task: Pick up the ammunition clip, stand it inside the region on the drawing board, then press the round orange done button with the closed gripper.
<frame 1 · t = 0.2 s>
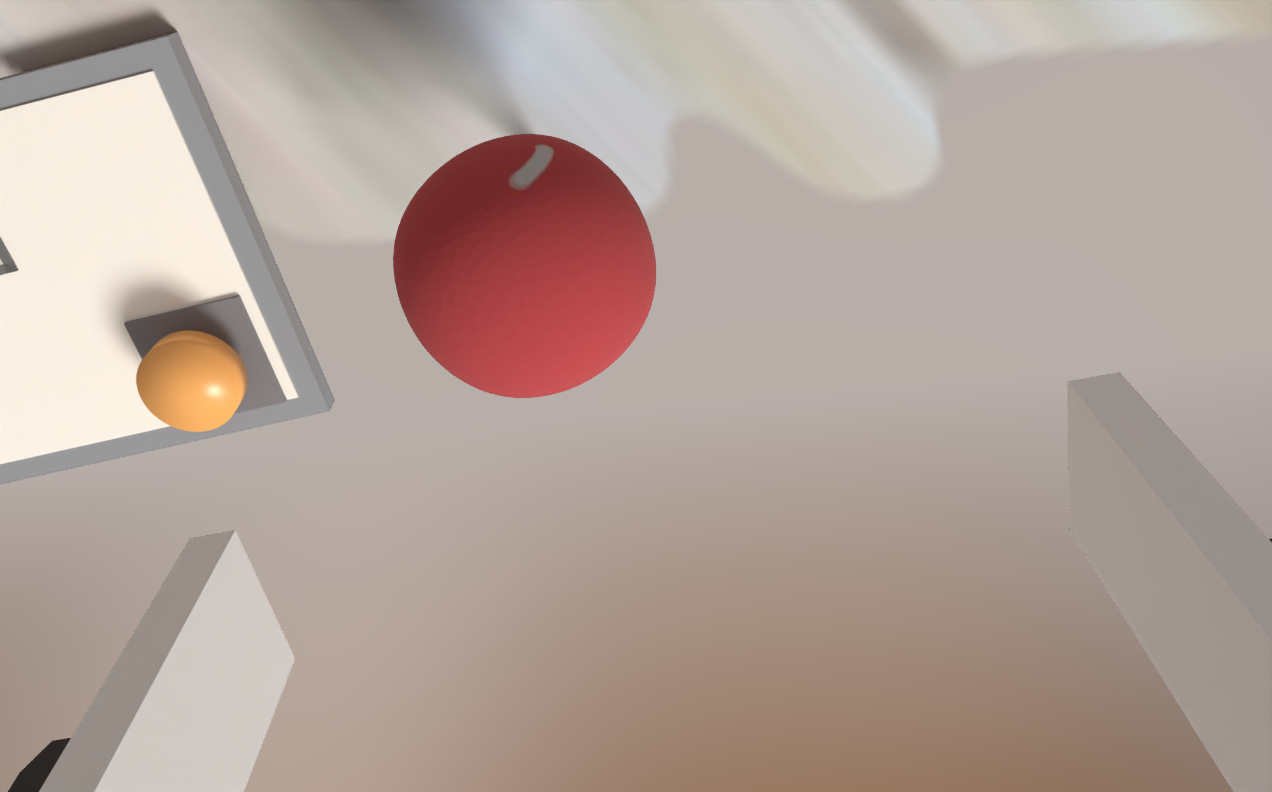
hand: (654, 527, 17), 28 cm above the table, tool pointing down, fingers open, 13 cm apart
done button: (192, 381, 43), point 3 cm above the table, slide at 0.0 cm
lollipop: (548, 161, 42), on the table
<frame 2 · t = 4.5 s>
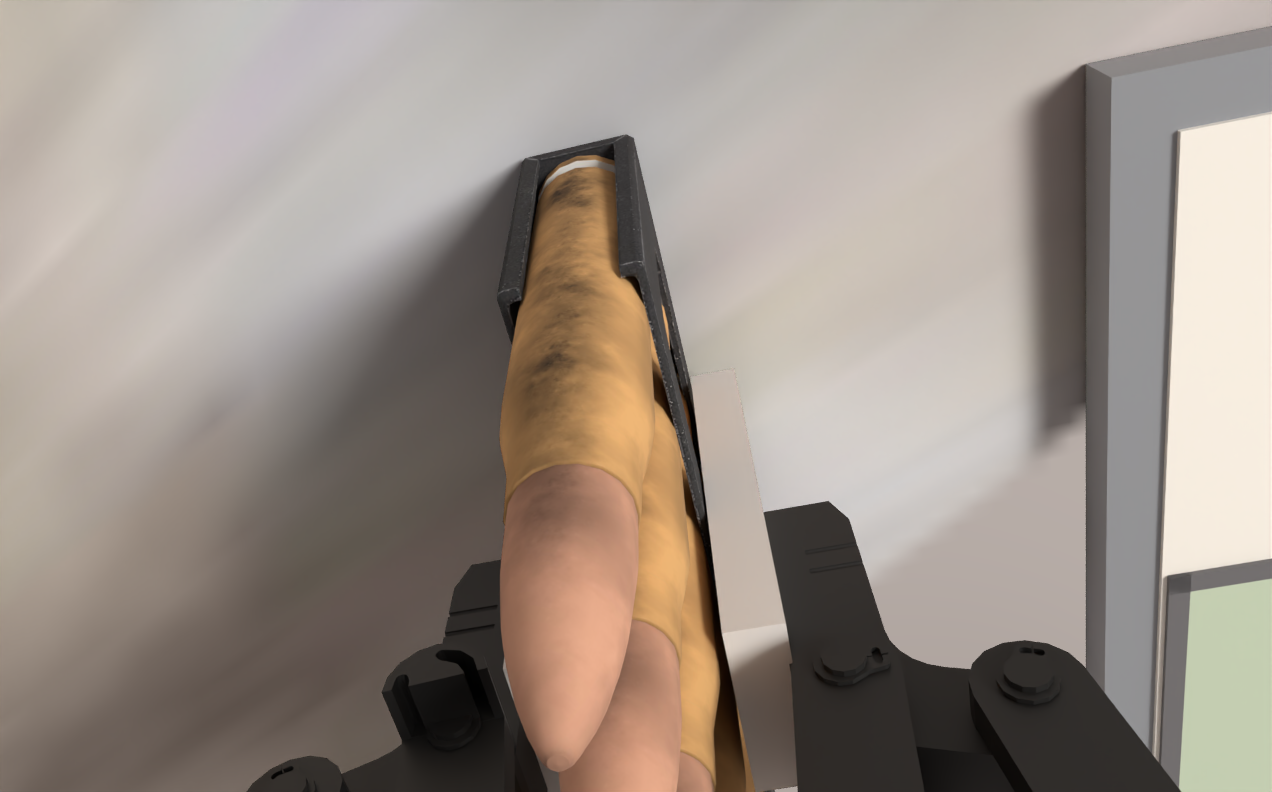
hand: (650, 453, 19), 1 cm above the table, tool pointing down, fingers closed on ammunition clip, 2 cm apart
ammunition clip: (648, 418, 20), on the table, touching gripper
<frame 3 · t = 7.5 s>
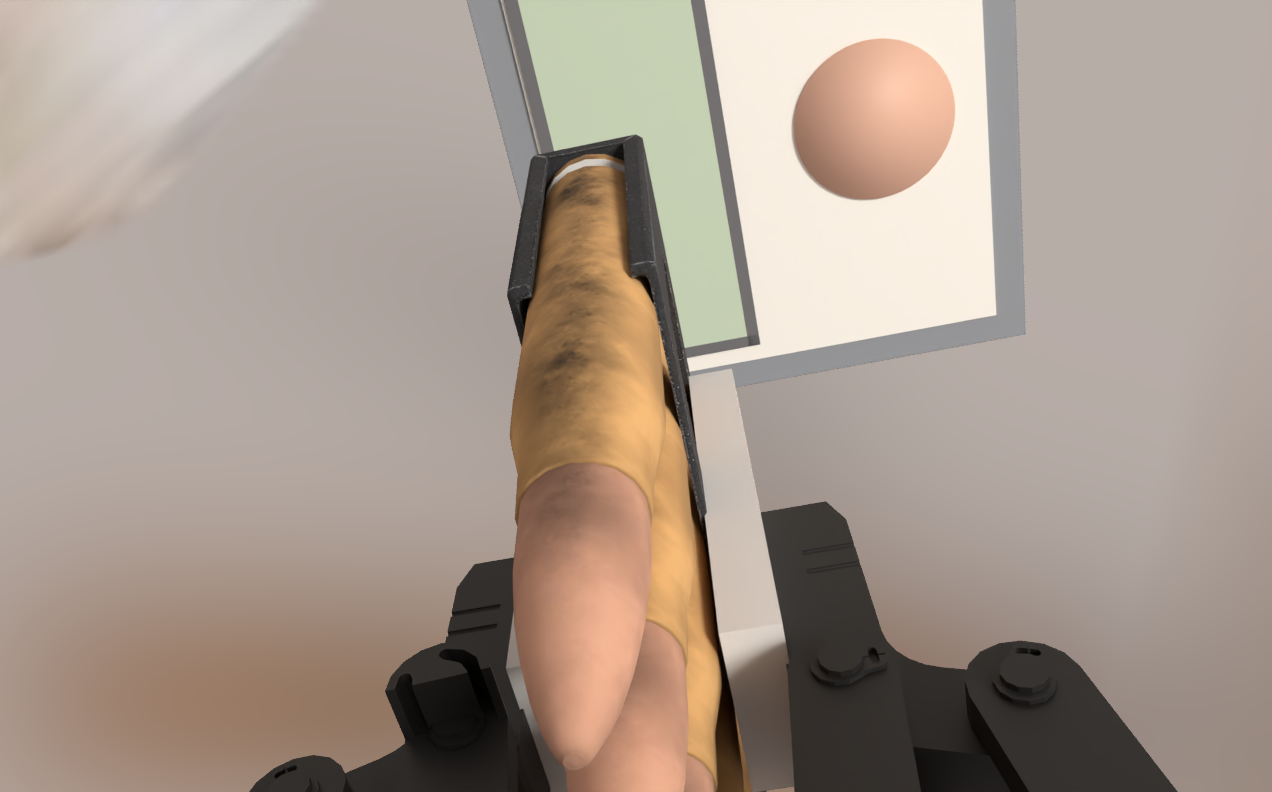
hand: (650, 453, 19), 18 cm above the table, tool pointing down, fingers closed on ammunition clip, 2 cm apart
drawing board: (740, 7, 33), on the table
ammunition clip: (648, 419, 20), point 17 cm above the table, touching gripper
when the fingers open (3 cm above the table, at t = 10.9 s): ammunition clip stays where it is, resting on drawing board.
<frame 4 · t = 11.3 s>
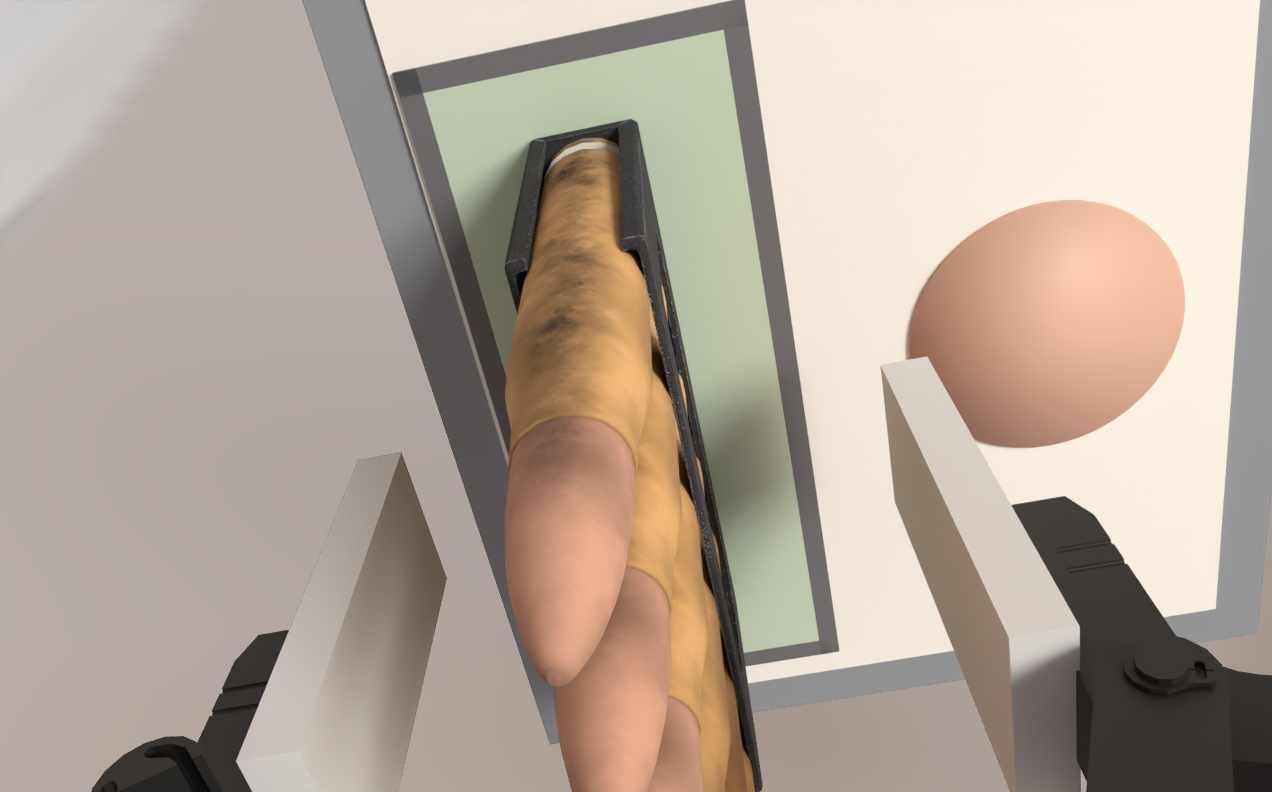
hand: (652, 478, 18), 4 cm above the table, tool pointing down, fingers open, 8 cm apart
drawing board: (822, 142, 19), on the table
ammunition clip: (645, 397, 21), point 1 cm above the table, touching drawing board
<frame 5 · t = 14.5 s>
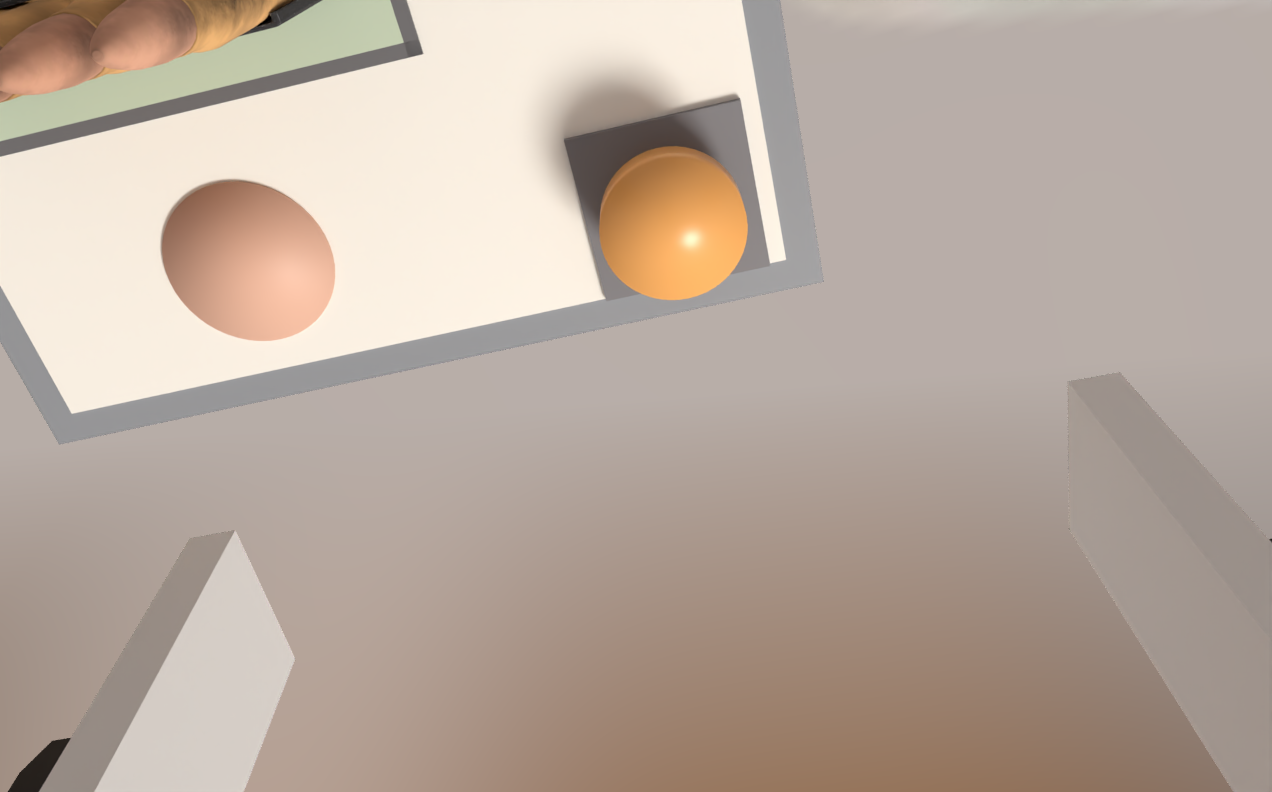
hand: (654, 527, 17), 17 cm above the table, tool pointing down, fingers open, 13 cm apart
drawing board: (345, 107, 31), on the table
done button: (672, 224, 29), point 3 cm above the table, slide at 0.0 cm
ammunition clip: (141, 0, 28), point 1 cm above the table, touching drawing board
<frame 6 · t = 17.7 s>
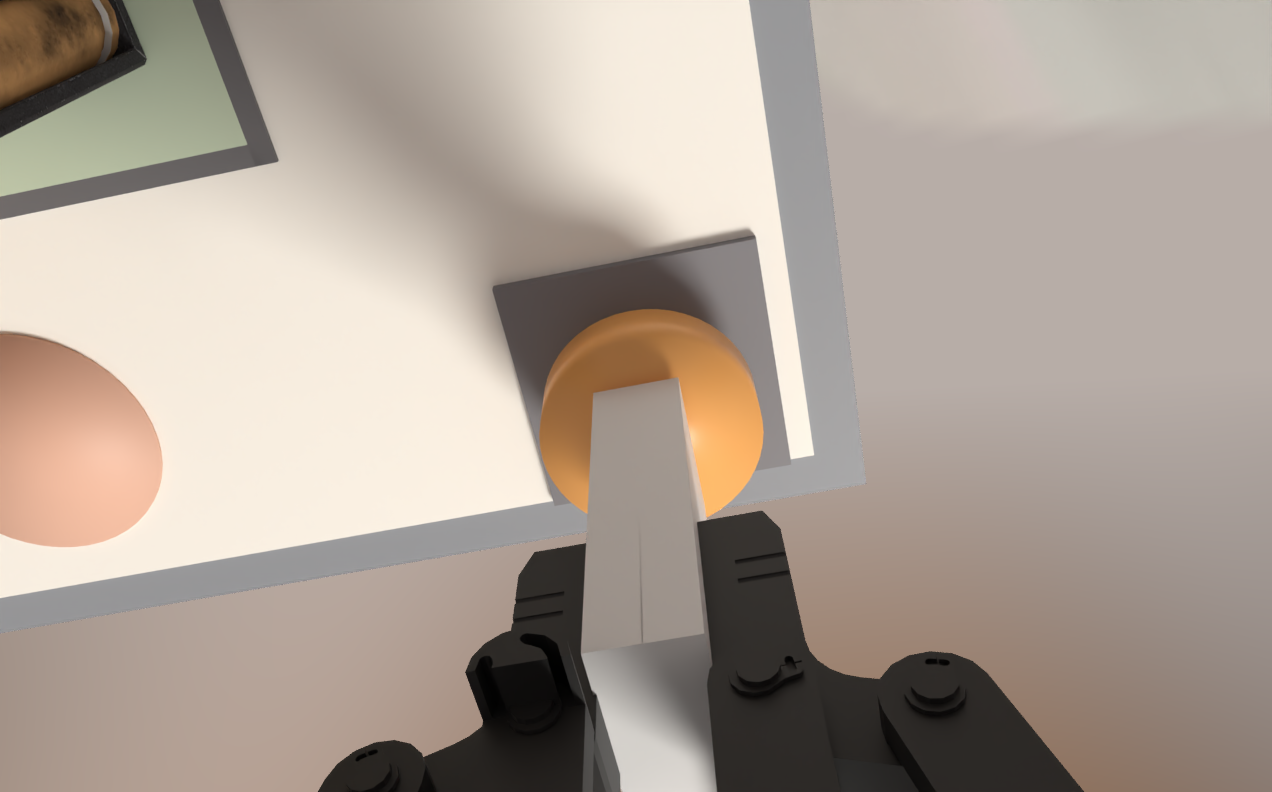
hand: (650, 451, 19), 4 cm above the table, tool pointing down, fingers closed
drawing board: (172, 228, 21), on the table
done button: (650, 422, 20), point 3 cm above the table, slide at 0.0 cm, touching gripper
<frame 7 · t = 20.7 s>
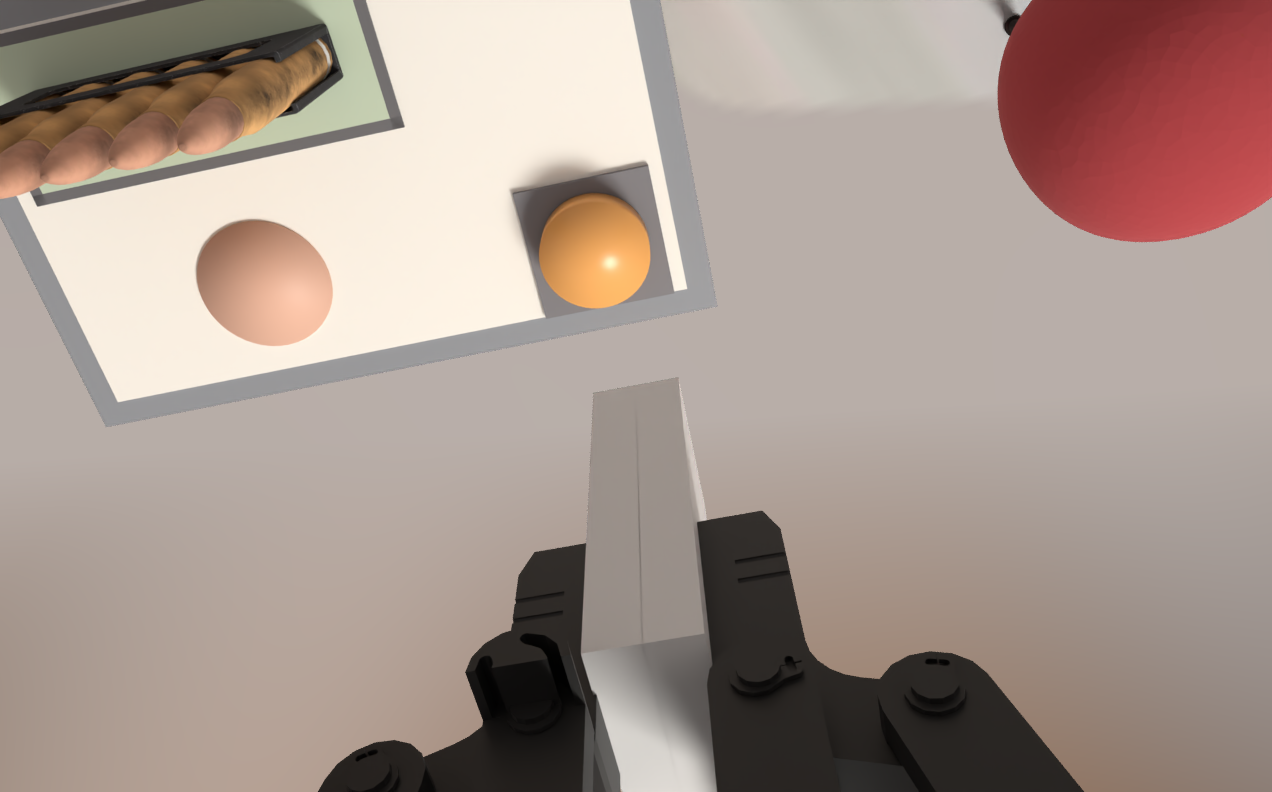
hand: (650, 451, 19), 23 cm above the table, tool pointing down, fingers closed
drawing board: (343, 165, 39), on the table
done button: (595, 251, 39), point 2 cm above the table, slide at 0.9 cm
ammunition clip: (189, 83, 37), point 1 cm above the table, touching drawing board
lollipop: (1013, 20, 38), on the table
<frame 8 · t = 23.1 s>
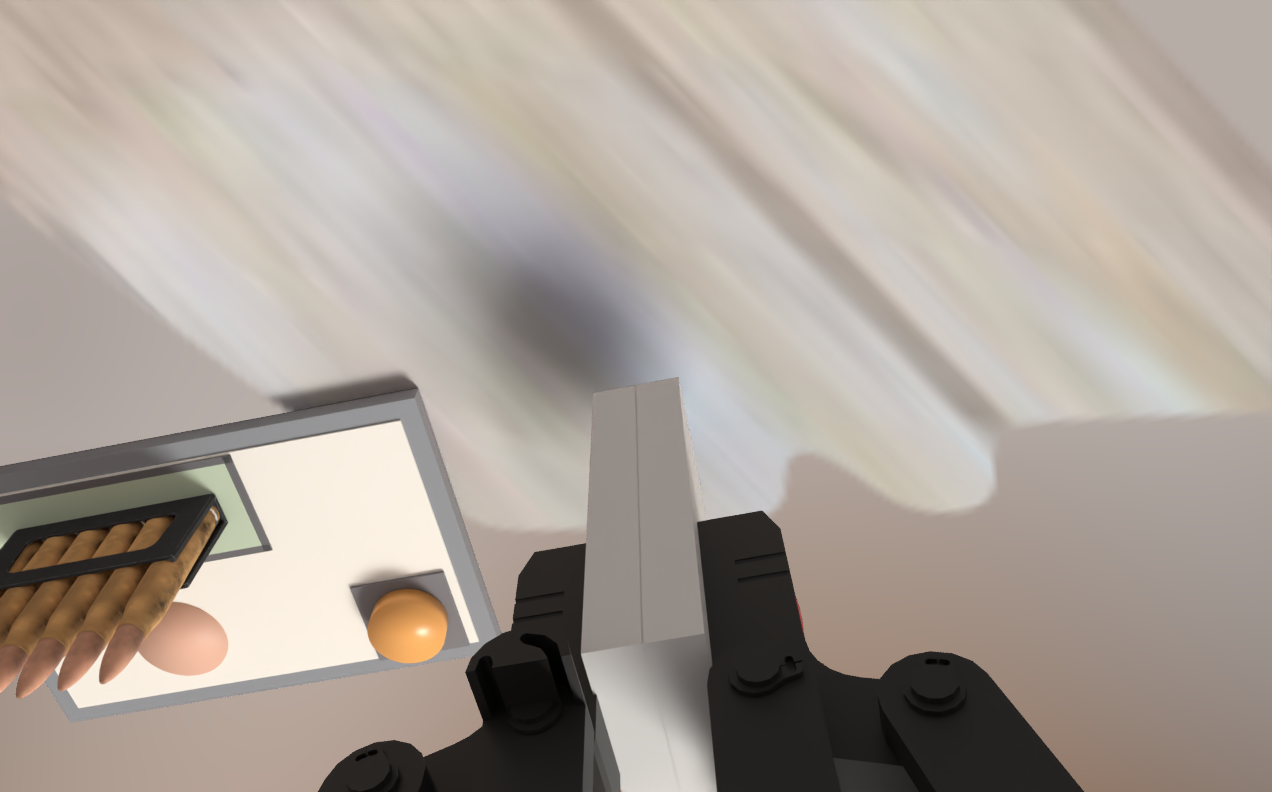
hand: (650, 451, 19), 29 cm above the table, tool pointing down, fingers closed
drawing board: (233, 562, 56), on the table
done button: (408, 626, 56), point 2 cm above the table, slide at 0.9 cm
ammunition clip: (123, 524, 54), point 1 cm above the table, touching drawing board
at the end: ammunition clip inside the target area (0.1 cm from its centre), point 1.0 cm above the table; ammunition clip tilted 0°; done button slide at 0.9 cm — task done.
